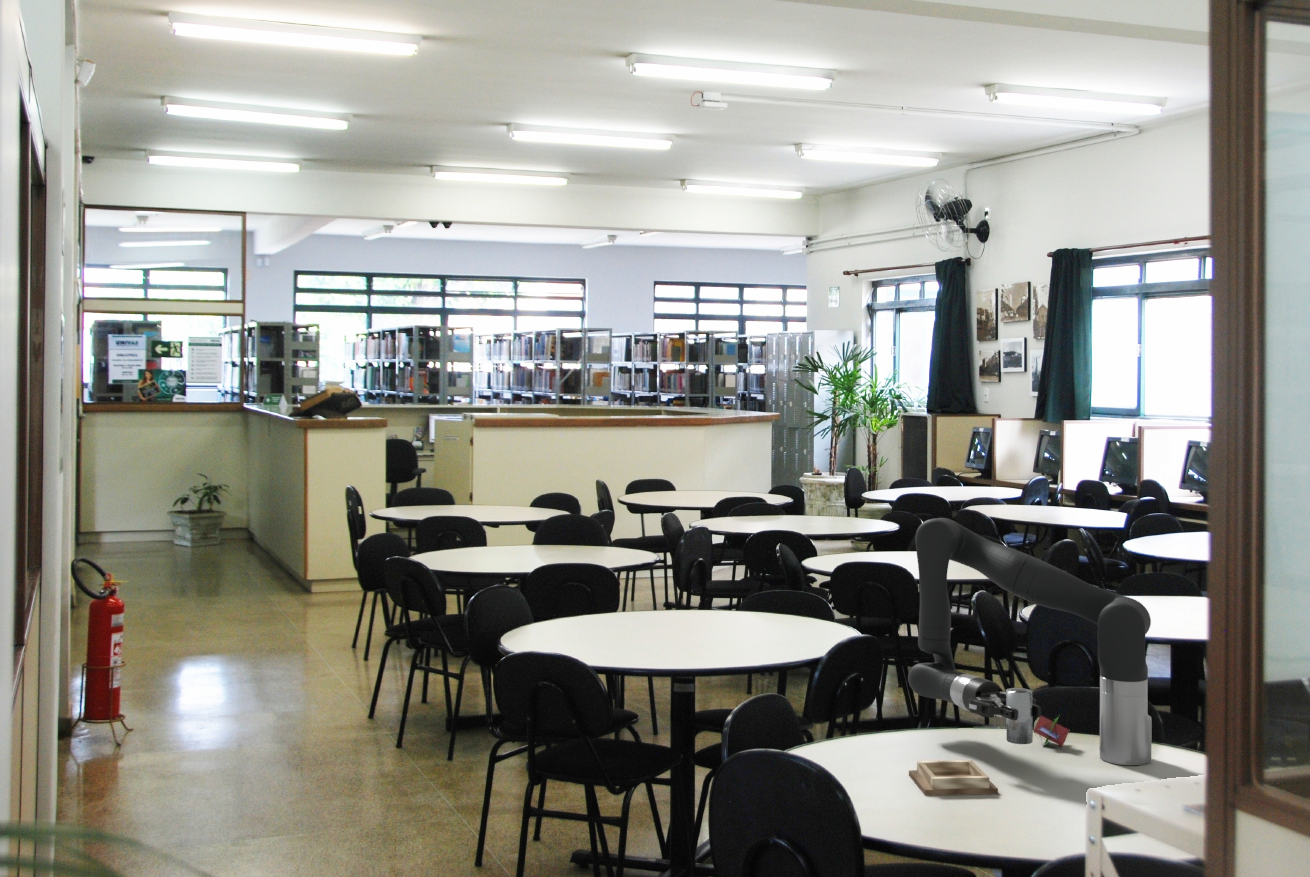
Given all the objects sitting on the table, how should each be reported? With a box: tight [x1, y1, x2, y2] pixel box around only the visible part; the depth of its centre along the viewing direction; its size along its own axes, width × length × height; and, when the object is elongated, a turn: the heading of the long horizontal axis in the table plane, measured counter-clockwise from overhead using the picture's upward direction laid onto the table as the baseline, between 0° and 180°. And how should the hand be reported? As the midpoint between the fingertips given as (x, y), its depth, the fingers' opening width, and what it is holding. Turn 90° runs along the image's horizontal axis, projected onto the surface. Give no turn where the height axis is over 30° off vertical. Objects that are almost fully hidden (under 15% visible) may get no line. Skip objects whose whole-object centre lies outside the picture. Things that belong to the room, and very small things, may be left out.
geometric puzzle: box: [1033, 714, 1071, 748], centre depth 255 cm, size 7×7×8 cm
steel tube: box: [1005, 687, 1034, 745], centre depth 235 cm, size 5×5×10 cm
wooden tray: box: [908, 759, 999, 796], centre depth 229 cm, size 14×12×3 cm
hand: (1027, 713), depth 233 cm, fingers closed on steel tube, 5 cm apart
